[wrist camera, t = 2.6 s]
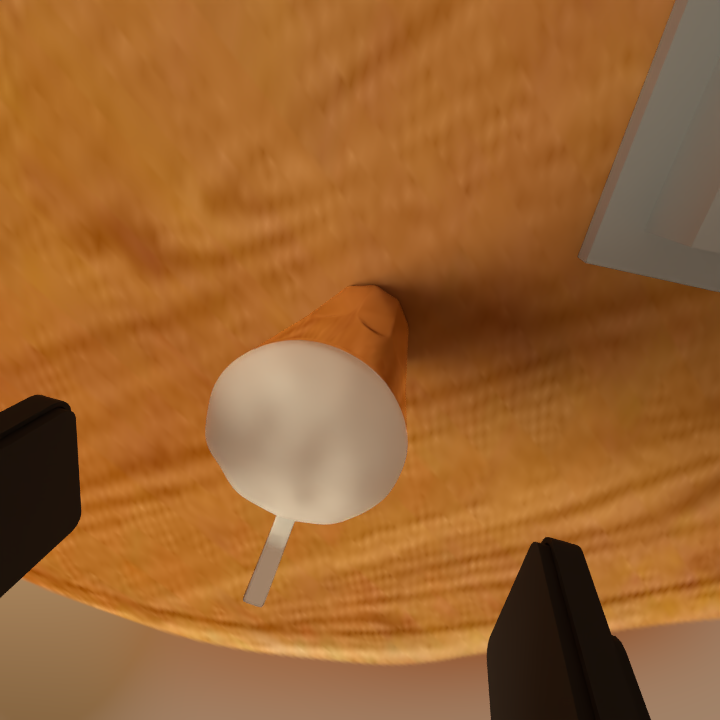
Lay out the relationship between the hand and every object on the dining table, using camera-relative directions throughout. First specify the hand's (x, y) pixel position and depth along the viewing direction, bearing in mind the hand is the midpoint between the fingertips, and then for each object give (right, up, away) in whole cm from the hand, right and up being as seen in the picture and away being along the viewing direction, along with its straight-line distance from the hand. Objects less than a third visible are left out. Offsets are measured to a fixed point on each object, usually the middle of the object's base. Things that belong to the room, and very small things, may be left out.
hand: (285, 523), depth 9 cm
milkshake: (+2, +4, +9) cm, 10 cm away
